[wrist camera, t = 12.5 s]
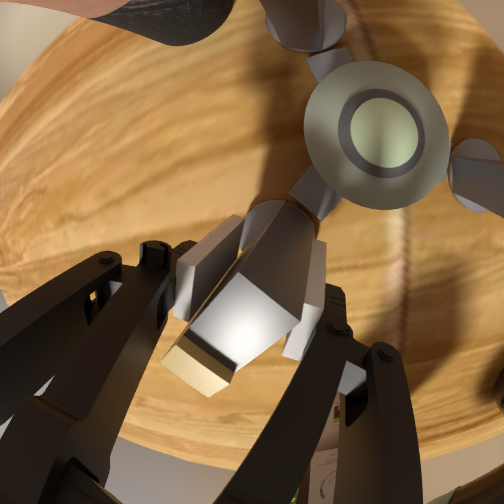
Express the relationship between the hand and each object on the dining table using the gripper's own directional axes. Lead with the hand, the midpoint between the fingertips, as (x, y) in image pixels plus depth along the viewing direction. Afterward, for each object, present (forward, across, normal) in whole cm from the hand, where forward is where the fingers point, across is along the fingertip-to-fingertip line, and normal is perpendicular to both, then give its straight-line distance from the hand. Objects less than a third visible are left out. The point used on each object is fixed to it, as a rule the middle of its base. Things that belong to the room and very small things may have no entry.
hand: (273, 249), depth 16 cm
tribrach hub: (+4, +3, +8) cm, 9 cm away
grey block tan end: (+4, 0, 0) cm, 4 cm away
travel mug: (+4, -11, +16) cm, 20 cm away
